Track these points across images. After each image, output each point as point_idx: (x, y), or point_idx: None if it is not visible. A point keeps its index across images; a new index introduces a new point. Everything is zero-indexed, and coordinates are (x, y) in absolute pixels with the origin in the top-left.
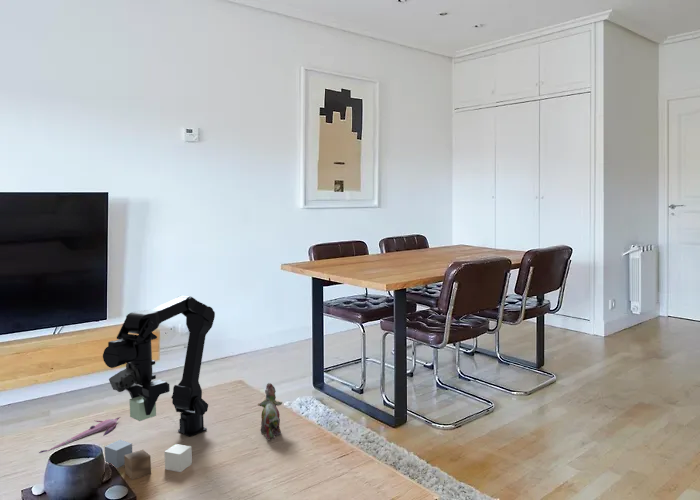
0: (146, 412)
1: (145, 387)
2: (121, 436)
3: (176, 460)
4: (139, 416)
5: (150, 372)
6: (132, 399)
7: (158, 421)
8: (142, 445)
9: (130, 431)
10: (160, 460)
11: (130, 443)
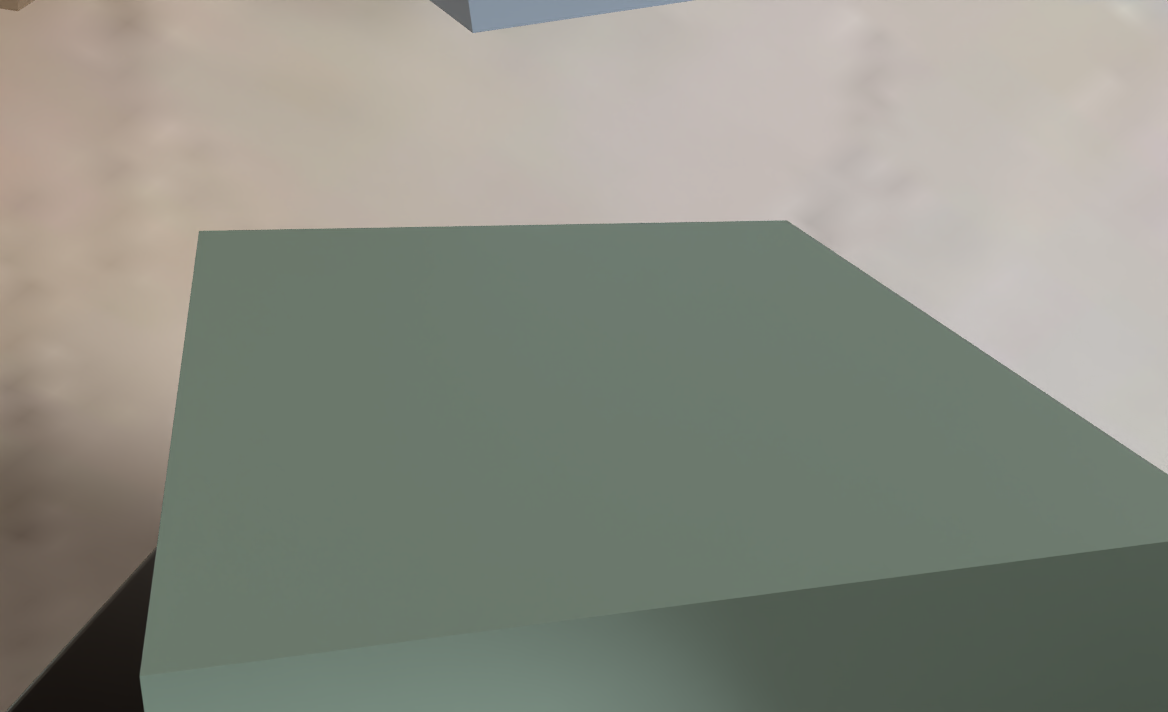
0: (118, 597)
1: None
2: (1105, 271)
3: None
4: (197, 300)
5: None
6: (1094, 630)
7: None
8: None
9: (1108, 395)
10: (99, 255)
11: (493, 12)
